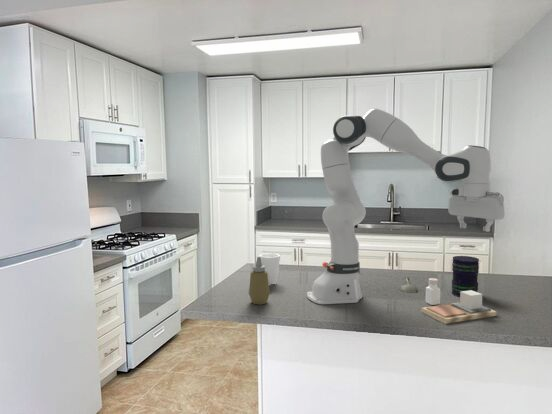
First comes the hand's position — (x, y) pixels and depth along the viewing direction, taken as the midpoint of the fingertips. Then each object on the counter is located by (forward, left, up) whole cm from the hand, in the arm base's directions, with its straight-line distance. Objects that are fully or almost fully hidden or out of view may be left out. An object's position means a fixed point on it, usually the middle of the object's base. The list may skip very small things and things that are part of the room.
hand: (474, 229), depth 144 cm
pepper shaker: (-9, +10, -30) cm, 32 cm away
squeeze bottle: (-71, +34, -30) cm, 84 cm away
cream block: (-3, -2, -27) cm, 28 cm away
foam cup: (-59, +58, -30) cm, 88 cm away
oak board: (-8, -2, -29) cm, 30 cm away
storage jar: (+11, +15, -30) cm, 35 cm away
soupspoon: (-3, +33, -30) cm, 45 cm away
